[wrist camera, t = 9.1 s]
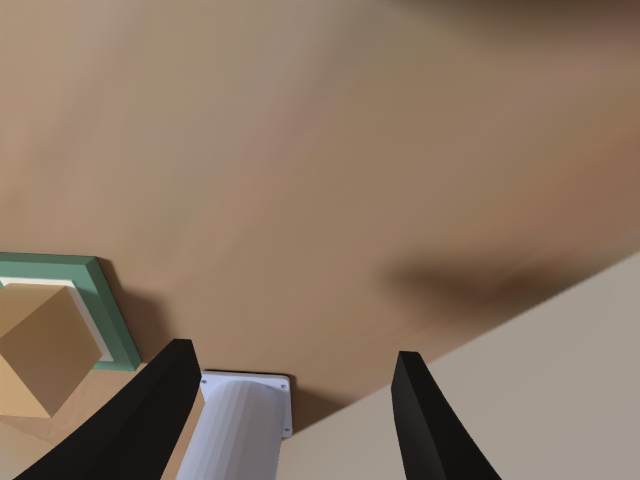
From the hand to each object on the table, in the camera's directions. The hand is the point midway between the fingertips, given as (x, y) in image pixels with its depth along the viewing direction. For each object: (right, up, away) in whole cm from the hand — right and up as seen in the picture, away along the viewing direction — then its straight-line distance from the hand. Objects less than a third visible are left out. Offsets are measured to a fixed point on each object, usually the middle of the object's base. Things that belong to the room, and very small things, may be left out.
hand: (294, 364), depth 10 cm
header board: (-19, -1, +13) cm, 23 cm away
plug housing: (-19, -2, +12) cm, 22 cm away
